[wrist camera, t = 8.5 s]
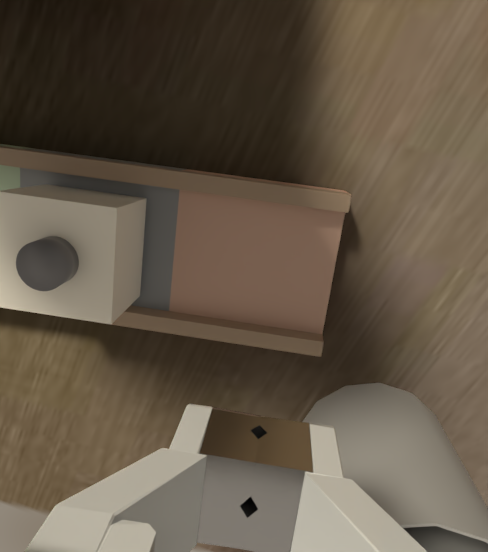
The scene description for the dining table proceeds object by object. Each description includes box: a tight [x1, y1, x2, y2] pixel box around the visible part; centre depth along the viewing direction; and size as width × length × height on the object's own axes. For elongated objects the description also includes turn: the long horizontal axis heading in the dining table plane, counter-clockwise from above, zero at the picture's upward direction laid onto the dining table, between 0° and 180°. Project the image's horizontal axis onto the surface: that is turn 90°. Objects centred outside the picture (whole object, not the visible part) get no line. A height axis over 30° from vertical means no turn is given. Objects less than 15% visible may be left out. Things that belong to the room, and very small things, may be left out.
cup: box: [302, 383, 488, 552], centre depth 22 cm, size 8×8×10 cm
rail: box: [0, 144, 352, 357], centre depth 23 cm, size 8×24×2 cm, turn 83°
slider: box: [0, 184, 147, 324], centre depth 20 cm, size 5×5×5 cm
